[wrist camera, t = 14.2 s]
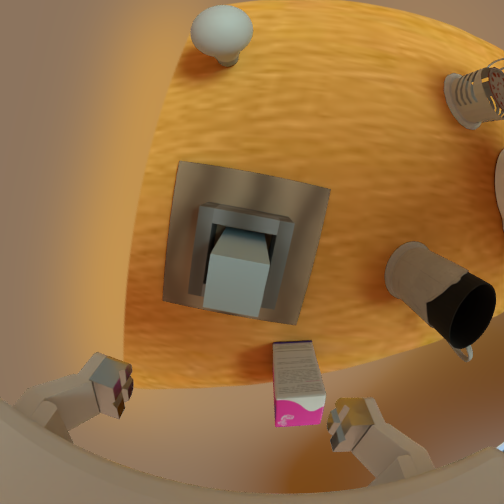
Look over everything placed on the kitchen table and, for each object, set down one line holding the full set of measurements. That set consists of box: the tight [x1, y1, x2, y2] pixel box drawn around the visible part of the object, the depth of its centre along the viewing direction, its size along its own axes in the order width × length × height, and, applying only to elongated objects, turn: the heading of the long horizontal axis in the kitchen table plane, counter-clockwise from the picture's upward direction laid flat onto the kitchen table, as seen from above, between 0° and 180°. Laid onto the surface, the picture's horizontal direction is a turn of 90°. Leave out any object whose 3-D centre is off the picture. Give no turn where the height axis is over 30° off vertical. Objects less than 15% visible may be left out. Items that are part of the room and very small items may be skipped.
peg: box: [203, 226, 270, 317], centre depth 27 cm, size 4×4×12 cm
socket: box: [163, 161, 331, 325], centre depth 30 cm, size 18×18×6 cm
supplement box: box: [273, 340, 326, 427], centre depth 32 cm, size 6×6×12 cm
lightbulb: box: [191, 5, 253, 67], centre depth 22 cm, size 6×6×11 cm
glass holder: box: [385, 241, 496, 362], centre depth 27 cm, size 9×14×15 cm, turn 31°
